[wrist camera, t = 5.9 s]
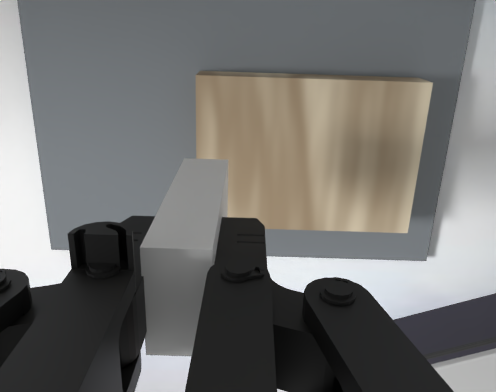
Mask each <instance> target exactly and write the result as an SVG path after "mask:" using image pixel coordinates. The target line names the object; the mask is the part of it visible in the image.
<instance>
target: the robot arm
mask: <svg viewBox="0 0 496 392" xmlns="http://www.w3.org/2000/svg"><path fill="white" fill-rule="evenodd" d="M227 214H228V160H221V159H190V158H184V160H183V162H182V164H181V166H180V168H179V170H178V172H177V174H176V176H175V178H174V180H173V182H172V184H171V186H170V188H169V190H168V192H167V194H166V196H165V198H164V200H163V202H162V204H161V206H160V208H159V210H158V212H157V214H156V216H131V217H129V218H127V219H126V220H124V221H122V222H121V223H118V222H110V221H107V222H94V223H89V224H84V225H82V226H79V227H77V228H74V229H73V230H72V231H70V232H69V233H68V242H69V251H70V259H71V267H72V269H71V271H70V272H69V273H68V275H67V276H66V278H65V279H64V280H63V282H62V283H60V284H55V285H49V286H42V287H35V288H30V285H29V278H28V277H27V276H26V274H25V273H23V272H21V271H18V270H11V269H0V392H134V391H135V388H136V385H137V382H138V379H139V376H140V372H141V352H140V350H141V347H142V344H143V341H144V338H145V343H146V355H168V356H192V357H191V363H190V368H189V373H188V379H187V384H186V389H185V392H277V389H280V390H284V391H287V392H454V391H453V390H452V389H451V388H450V386H449V385H448V384H447V383H446V382H445V381H444V379H443V378H442V377H441V376H440V375H439V374H438V372H437V371H436V370H435V369H434V368H433V367H432V365H431V364H430V363H429V362H428V361H427V359H426V358H425V357H424V356H423V355H422V354H421V352H420V351H419V350H418V349H417V348H416V347H415V345H414V344H413V343H412V342H411V341H410V340H409V338H408V337H407V336H406V335H405V334H404V333H403V331H402V330H401V329H400V328H399V327H398V325H397V324H396V323H395V322H394V321H393V320H392V318H391V317H390V316H389V315H388V314H387V313H386V311H385V310H384V309H383V308H382V307H381V306H380V304H379V303H378V302H377V301H376V300H375V299H374V297H373V296H372V295H371V294H370V293H369V292H368V291H367V290H366V289H365V288H363V287H362V286H361V285H359V284H357V283H354V282H352V281H350V280H347V279H341V278H336V277H334V278H322V279H317V280H314V281H312V282H311V283H309V284H308V285H307V286H306V288H305V290H304V293H302V292H297V291H293V290H290V289H286V288H284V287H282V286H280V285H278V284H277V283H275V282H274V281H273V280H272V279H271V278H270V274H269V272H268V269H267V258H266V240H265V226H264V225H263V224H262V223H261V222H260V221H259V220H258V219H257V218H237V217H227Z"/></svg>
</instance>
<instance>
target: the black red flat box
mask: <svg viewBox="0 0 496 392" xmlns="http://www.w3.org/2000/svg"><path fill="white" fill-rule="evenodd" d="M393 321H394V322H395V323H396V324H397V325H398V327H399V328H400V329H401V330H402V331H403V333H404V334H405V335H406V336H407V337H408V338H409V340H410V341H411V342H412V343H413V344H414V345H415V347H416V348H417V349H418V350H419V351H420V352H421V354H422V355H423V356H424V357H425V358H426V359H427V361H428V362H429V363H430V364H431V365H432V367H433V368H434V369H435V370H436V371H437V372H438V374H439V375H440V376H441V377H442V378H443V379H444V381H445V382H446V383H447V384H448V385H449V386H450V388H451V389H452V390H453V391H454V392H496V293H495V294H492V295H488V296H484V297H480V298H476V299H472V300H468V301H465V302H461V303H457V304H453V305H449V306H445V307H441V308H438V309H434V310H430V311H426V312H422V313H418V314H415V315H411V316H407V317H403V318H399V319H395V320H393Z"/></svg>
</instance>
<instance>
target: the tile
mask: <svg viewBox="0 0 496 392" xmlns="http://www.w3.org/2000/svg"><path fill="white" fill-rule="evenodd" d="M432 86H433V82H430V81H427V80H424V79H421V78H412V77H381V76H349V75H318V74H286V73H255V72H223V71H199V72H198V73H197V74H196V159H221V160H228V214H227V217H237V218H257V219H258V220H259V221H260V222H261V223H262V224H263V225H264V226H265V229H287V230H319V231H352V232H384V233H408V228H409V222H410V216H411V210H412V204H413V198H414V193H415V187H416V181H417V175H418V169H419V163H420V157H421V151H422V145H423V139H424V133H425V128H426V122H427V116H428V110H429V104H430V98H431V92H432Z"/></svg>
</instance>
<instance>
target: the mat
mask: <svg viewBox="0 0 496 392" xmlns="http://www.w3.org/2000/svg"><path fill="white" fill-rule="evenodd" d="M475 1H476V0H17V2H18V9H19V16H20V23H21V31H22V38H23V45H24V53H25V60H26V67H27V75H28V82H29V89H30V97H31V104H32V111H33V119H34V126H35V133H36V140H37V148H38V155H39V162H40V170H41V177H42V184H43V192H44V199H45V206H46V214H47V221H48V228H49V236H50V243H51V249H53V250H69V242H68V233H69V232H70V231H72V230H73V229H74V228H77V227H79V226H82V225H84V224H89V223H94V222H107V221H110V222H118V223H121V222H122V221H124V220H126V219H127V218H129V217H131V216H156V214H157V212H158V210H159V208H160V206H161V204H162V202H163V200H164V198H165V196H166V194H167V192H168V190H169V188H170V186H171V184H172V182H173V180H174V178H175V176H176V174H177V172H178V170H179V168H180V166H181V164H182V162H183V160H184V158H190V159H196V74H197V73H198V72H199V71H223V72H255V73H286V74H318V75H349V76H381V77H412V78H421V79H424V80H427V81H430V82H433V86H432V92H431V98H430V104H429V110H428V116H427V122H426V128H425V133H424V139H423V145H422V151H421V157H420V163H419V169H418V175H417V181H416V187H415V193H414V198H413V204H412V210H411V216H410V222H409V228H408V233H384V232H352V231H319V230H287V229H265V240H266V256H280V257H313V258H345V259H378V260H410V261H426V259H427V254H428V249H429V244H430V238H431V233H432V228H433V223H434V217H435V212H436V207H437V201H438V196H439V191H440V186H441V180H442V175H443V170H444V165H445V159H446V154H447V149H448V143H449V138H450V133H451V128H452V122H453V117H454V112H455V107H456V101H457V96H458V91H459V85H460V80H461V75H462V70H463V64H464V59H465V54H466V49H467V43H468V38H469V33H470V28H471V22H472V17H473V12H474V6H475Z"/></svg>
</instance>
